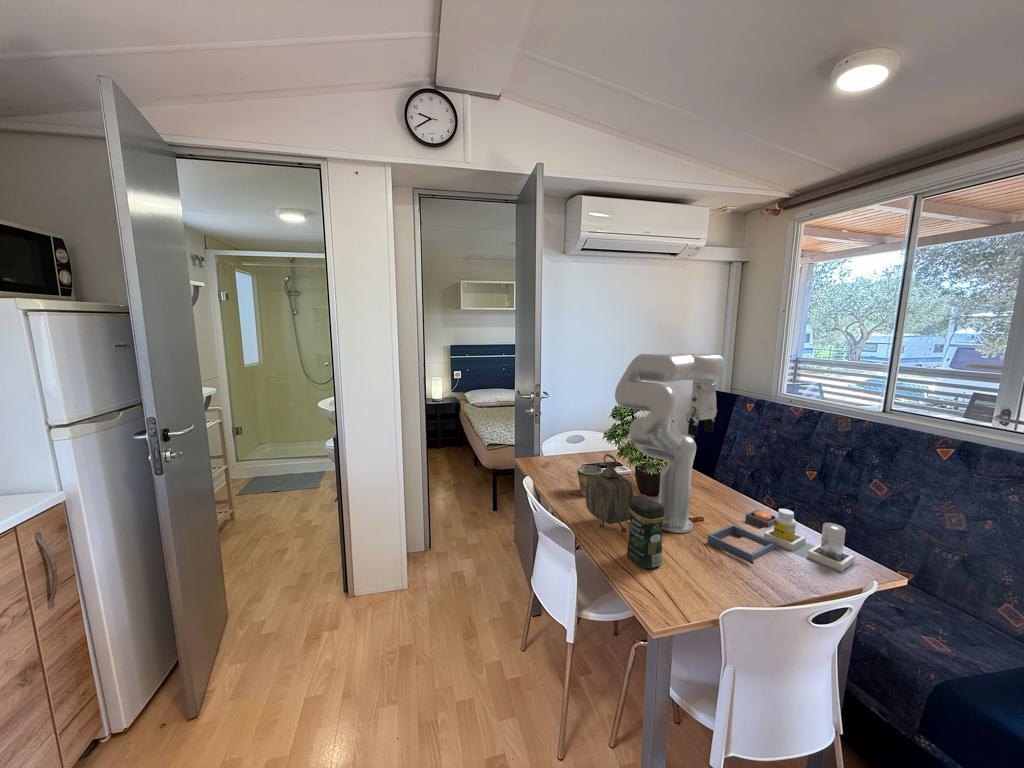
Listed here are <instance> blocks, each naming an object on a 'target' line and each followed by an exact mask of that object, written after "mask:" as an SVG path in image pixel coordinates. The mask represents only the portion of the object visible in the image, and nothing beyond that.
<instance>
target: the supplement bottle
mask: <svg viewBox="0 0 1024 768" xmlns="http://www.w3.org/2000/svg"><path fill="white" fill-rule="evenodd" d="M777 514H778V515H775V516H776V517H775V523H774V525H773V526H774V527H773V528H774V534H773V535H774V536H776V537H779V538H781V539H783V540H786V541H788V542H793V541H794V538H795V534H796V528H797V521H796V519H794V518H795V513H794V511H792V510H790V509H787V508H778V512H777Z"/></svg>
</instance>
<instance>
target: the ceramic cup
mask: <svg viewBox="0 0 1024 768" xmlns="http://www.w3.org/2000/svg"><path fill="white" fill-rule="evenodd" d="M604 469H605V468H602V467H599V466H595V465H580V466H578V467H577V469H576V471H577V477H578V483H579V488H580V489H579V490H580V494H581V495H582V496H584V497H586V486H587V479H588V477H589V476H590V475H591V474H597V473H602V472H603V470H604Z"/></svg>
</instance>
